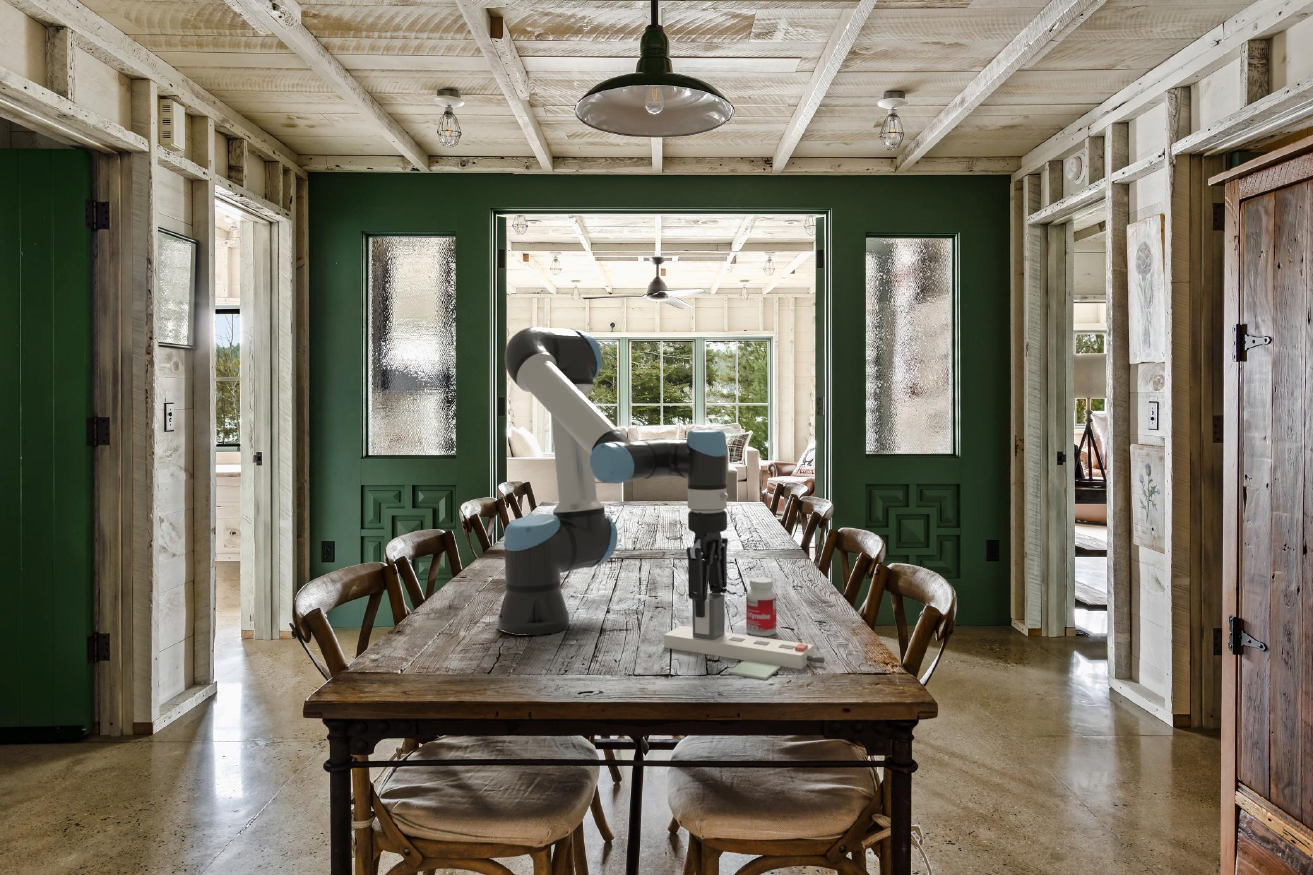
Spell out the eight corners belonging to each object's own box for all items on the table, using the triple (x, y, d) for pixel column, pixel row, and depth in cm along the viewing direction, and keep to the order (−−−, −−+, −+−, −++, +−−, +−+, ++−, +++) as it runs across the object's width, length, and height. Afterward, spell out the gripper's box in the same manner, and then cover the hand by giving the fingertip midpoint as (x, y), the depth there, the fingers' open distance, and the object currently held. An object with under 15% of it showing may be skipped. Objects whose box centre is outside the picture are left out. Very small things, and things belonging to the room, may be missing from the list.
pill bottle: (742, 635, 168) (742, 581, 167) (751, 627, 173) (751, 575, 173) (771, 638, 165) (771, 584, 164) (780, 630, 171) (779, 577, 170)
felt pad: (728, 673, 144) (728, 671, 144) (744, 662, 150) (744, 659, 150) (765, 679, 141) (765, 677, 141) (780, 667, 147) (780, 665, 147)
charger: (692, 646, 158) (692, 597, 158) (703, 639, 162) (703, 592, 162) (714, 649, 156) (713, 600, 155) (724, 643, 160) (724, 594, 159)
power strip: (664, 647, 160) (663, 631, 160) (680, 637, 166) (680, 622, 166) (817, 671, 144) (817, 654, 144) (829, 660, 151) (829, 643, 150)
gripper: (704, 517, 148) (705, 644, 149) (743, 505, 163) (744, 620, 165) (668, 514, 152) (669, 638, 153) (710, 503, 167) (711, 616, 168)
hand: (708, 629), depth 159 cm, fingers closed on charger, 5 cm apart
